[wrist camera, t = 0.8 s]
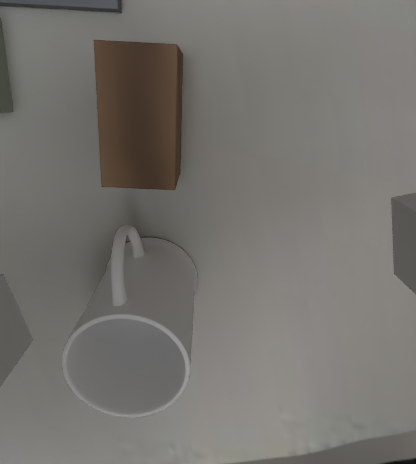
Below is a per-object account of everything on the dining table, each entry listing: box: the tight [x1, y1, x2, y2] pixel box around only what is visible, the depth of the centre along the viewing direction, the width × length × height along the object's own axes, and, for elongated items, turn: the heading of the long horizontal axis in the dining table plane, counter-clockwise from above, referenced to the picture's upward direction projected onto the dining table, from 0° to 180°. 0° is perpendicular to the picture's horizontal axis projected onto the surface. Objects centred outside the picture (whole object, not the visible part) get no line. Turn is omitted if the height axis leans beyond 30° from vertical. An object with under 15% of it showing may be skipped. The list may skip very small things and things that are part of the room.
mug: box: [62, 225, 198, 417], centre depth 28 cm, size 12×8×12 cm
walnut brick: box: [94, 40, 183, 190], centre depth 27 cm, size 5×9×6 cm, turn 177°
